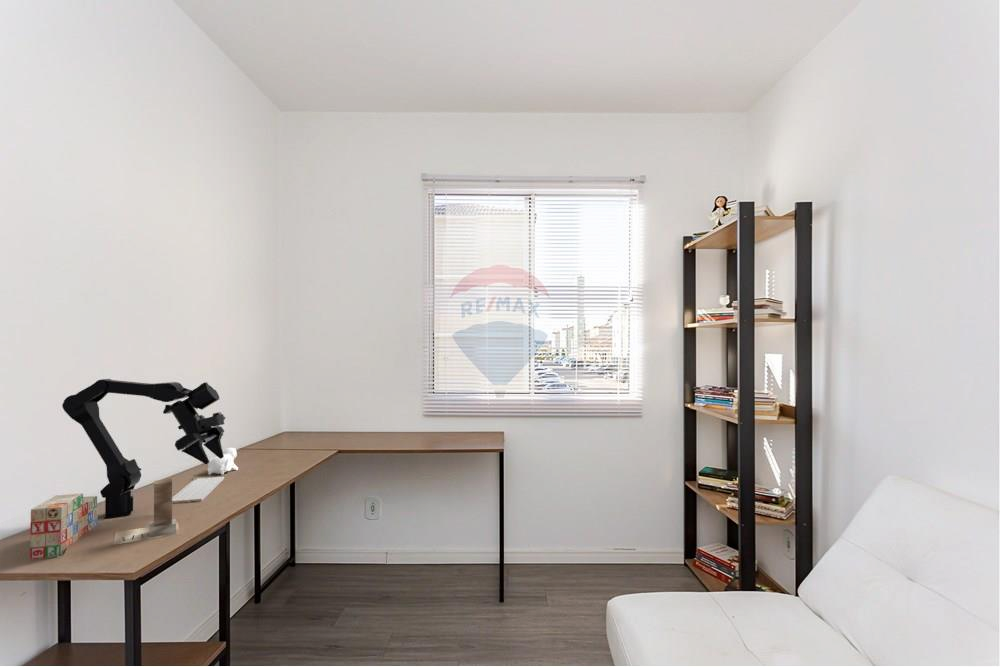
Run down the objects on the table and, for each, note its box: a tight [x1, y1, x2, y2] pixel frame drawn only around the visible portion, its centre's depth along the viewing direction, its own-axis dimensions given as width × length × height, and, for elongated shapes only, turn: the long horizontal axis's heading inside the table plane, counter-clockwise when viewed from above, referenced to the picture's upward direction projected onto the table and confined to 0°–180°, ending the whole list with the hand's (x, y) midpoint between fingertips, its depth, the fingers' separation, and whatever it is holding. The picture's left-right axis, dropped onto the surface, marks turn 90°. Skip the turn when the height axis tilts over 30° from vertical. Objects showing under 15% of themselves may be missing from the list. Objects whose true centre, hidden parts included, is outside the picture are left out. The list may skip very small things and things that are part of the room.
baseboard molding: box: [172, 473, 225, 504], centre depth 189 cm, size 31×3×12 cm
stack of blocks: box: [29, 493, 99, 560], centre depth 139 cm, size 21×6×12 cm, turn 17°
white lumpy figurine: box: [207, 447, 239, 476], centre depth 219 cm, size 9×8×15 cm
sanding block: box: [148, 478, 177, 538], centre depth 143 cm, size 6×5×14 cm
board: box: [113, 521, 180, 546], centre depth 143 cm, size 14×11×1 cm
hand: (215, 460), depth 166 cm, fingers open, 9 cm apart
